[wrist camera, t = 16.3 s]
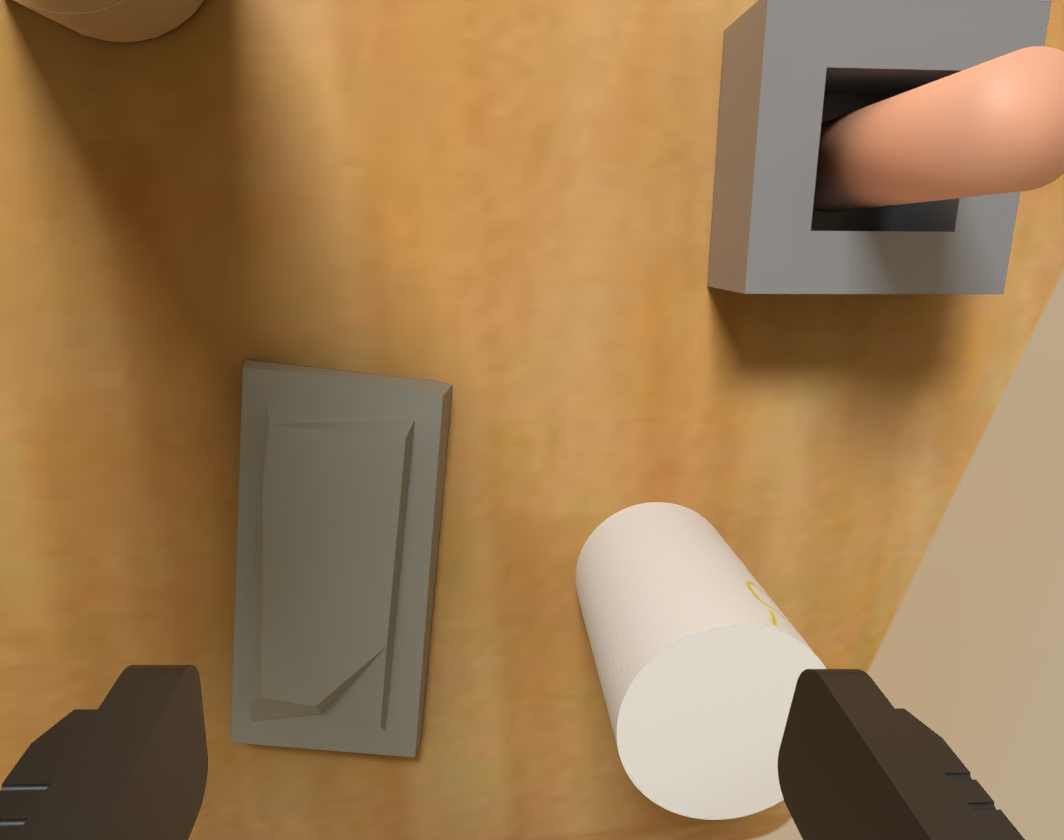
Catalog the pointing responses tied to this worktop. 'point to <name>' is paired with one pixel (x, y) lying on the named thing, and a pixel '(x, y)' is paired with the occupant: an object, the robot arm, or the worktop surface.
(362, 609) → the soap mold
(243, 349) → the worktop surface
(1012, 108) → the peg
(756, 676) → the white patterned cylinder
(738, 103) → the socket block
